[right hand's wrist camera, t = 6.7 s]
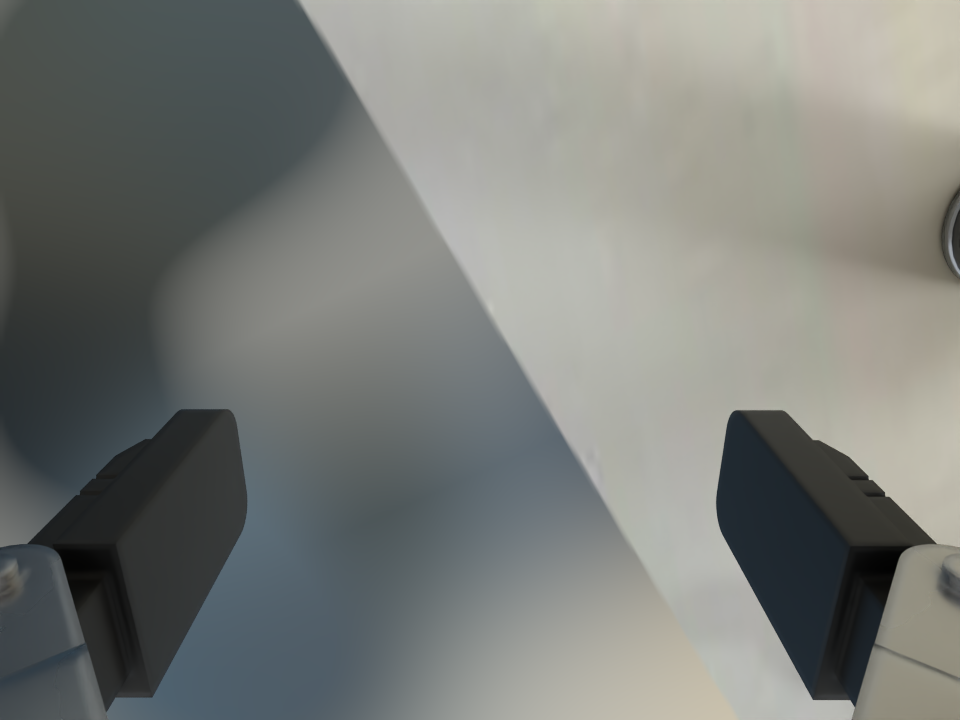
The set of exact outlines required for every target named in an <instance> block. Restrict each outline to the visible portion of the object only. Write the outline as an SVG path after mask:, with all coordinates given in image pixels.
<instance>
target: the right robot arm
mask: <svg viewBox="0 0 960 720" xmlns="http://www.w3.org/2000/svg"><path fill="white" fill-rule="evenodd" d="M942 247H943V253H944V256H945V259H946V262H947V264H948V266H949V267H950V269H951V270H952V272H953V273H954V274H955V275H956V276H957V277H958V278H959V279H960V190H959V192H958V193H957V195H956V196H955V198H954V200H953V201H952V203H951V205H950V207H949V210H948V212H947V215H946V218H945V221H944V225H943V231H942ZM868 477H869V476H868V475H867V474H866V473H865V472H864V471H863V470H862V469H861V468H860V467H859V466H858V465H857V464H856V463H855V462H854V461H853V460H852V459H851V458H850V457H848V456H846V455H845V454H843V453H841V452H839V451H837V450H835V449H834V448H832V447H830V446H828V445H826V444H825V443H823V442H821V441H819V440H812V439H811V438H810V437H809V436H808V435H807V433H806V432H805V431H804V430H803V429H802V428H801V427H800V426H799V425H798V424H797V423H796V422H795V421H794V420H793V419H792V418H791V417H790V416H789V415H788V414H787V413H786V412H785V411H783V410H736V411H734V412H733V413H732V414H731V415H730V417H729V420H728V424H727V429H726V436H725V442H724V449H723V456H722V462H721V469H720V476H719V482H718V489H717V497H716V509H717V518H718V523H719V527H720V530H721V532H722V534H723V536H724V538H725V540H726V542H727V544H728V546H729V547H730V549H731V551H732V553H733V555H734V556H735V558H736V560H737V562H738V564H739V566H740V567H741V569H742V571H743V573H744V575H745V577H746V578H747V580H748V582H749V584H750V586H751V588H752V589H753V591H754V593H755V595H756V597H757V598H758V600H759V602H760V604H761V606H762V608H763V609H764V611H765V613H766V615H767V617H768V619H769V620H770V622H771V624H772V626H773V628H774V629H775V631H776V633H777V635H778V637H779V639H780V640H781V642H782V644H783V646H784V648H785V650H786V651H787V653H788V655H789V657H790V659H791V660H792V662H793V664H794V666H795V668H796V670H797V671H798V673H799V675H800V677H801V679H802V681H803V682H804V684H805V686H806V688H807V690H808V691H809V693H810V695H811V697H812V699H813V700H851V702H852V703H853V705H854V707H855V710H854V713H853V717H852V720H960V548H959V547H954V546H949V545H940V544H936V543H935V542H934V541H933V540H932V539H931V538H930V537H929V536H928V535H927V534H926V533H925V532H924V531H923V530H922V529H921V528H920V527H919V526H918V525H917V524H916V523H915V522H914V521H913V520H912V519H911V518H910V517H909V516H908V515H907V514H906V513H905V512H904V511H903V510H902V509H901V508H900V507H899V506H898V505H897V504H896V503H895V502H894V501H893V500H892V499H891V498H890V497H885V492H884V491H883V490H882V489H881V488H880V487H879V486H878V485H877V484H876V483H875V482H874V481H873V480H869V479H868ZM246 513H247V491H246V484H245V477H244V470H243V464H242V457H241V450H240V443H239V437H238V430H237V424H236V420H235V417H234V415H233V413H232V412H231V411H230V410H228V409H182V410H179V411H178V412H177V413H176V414H175V415H174V416H173V417H172V418H171V419H170V420H169V421H168V422H167V423H166V424H165V425H164V427H163V428H162V429H161V430H160V431H159V432H158V433H157V434H156V435H155V436H154V437H153V438H152V439H145V440H143V441H141V442H139V443H138V444H136V445H134V446H132V447H130V448H129V449H127V450H125V451H123V452H121V453H120V454H118V455H116V456H115V457H114V458H113V459H112V460H111V461H110V462H109V463H108V464H107V465H106V466H105V467H104V468H103V469H102V470H101V471H100V472H99V473H98V474H97V475H96V479H92V480H91V481H90V482H89V483H88V484H87V485H86V486H85V487H84V488H83V489H82V490H81V491H80V495H76V496H75V497H74V498H73V499H72V500H71V501H70V502H69V503H68V504H67V505H66V506H65V507H64V508H63V509H62V510H61V511H60V512H59V513H58V514H57V515H56V516H55V517H54V518H53V519H52V520H51V521H50V522H49V523H48V524H47V525H46V526H45V527H44V528H43V529H42V530H41V531H40V532H39V533H38V534H37V535H36V536H35V537H34V538H33V539H32V540H31V541H30V542H29V543H28V544H20V545H11V546H6V547H1V548H0V720H108V717H107V714H106V712H107V710H108V709H109V707H110V706H111V704H112V702H113V701H114V699H115V697H153V695H154V693H155V691H156V690H157V688H158V686H159V684H160V682H161V680H162V679H163V677H164V675H165V673H166V671H167V669H168V667H169V666H170V664H171V662H172V660H173V658H174V656H175V655H176V653H177V651H178V649H179V647H180V645H181V643H182V642H183V640H184V638H185V636H186V634H187V632H188V630H189V629H190V627H191V625H192V623H193V621H194V619H195V618H196V616H197V614H198V612H199V610H200V608H201V607H202V605H203V603H204V601H205V599H206V597H207V595H208V594H209V592H210V590H211V588H212V586H213V584H214V582H215V581H216V579H217V577H218V575H219V573H220V571H221V570H222V568H223V566H224V564H225V562H226V560H227V559H228V557H229V555H230V553H231V551H232V549H233V547H234V546H235V544H236V542H237V540H238V538H239V536H240V534H241V532H242V530H243V527H244V524H245V519H246Z"/></svg>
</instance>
